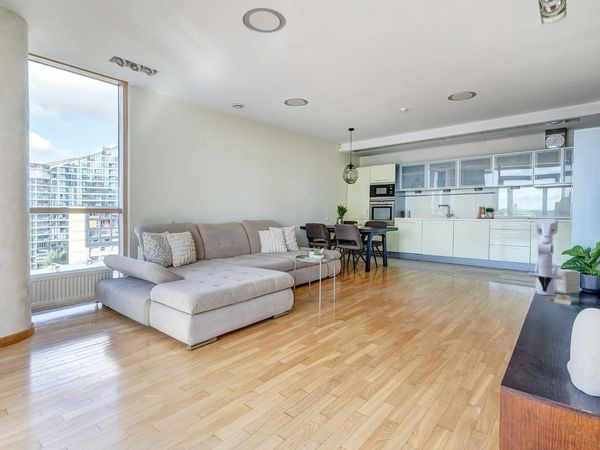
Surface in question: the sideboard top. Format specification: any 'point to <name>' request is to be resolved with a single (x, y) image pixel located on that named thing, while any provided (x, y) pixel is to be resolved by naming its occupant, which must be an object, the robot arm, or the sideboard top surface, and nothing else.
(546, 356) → the sideboard top surface
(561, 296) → the maple block
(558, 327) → the sideboard top surface
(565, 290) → the supplement box
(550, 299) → the trap plate
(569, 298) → the acrylic channel
